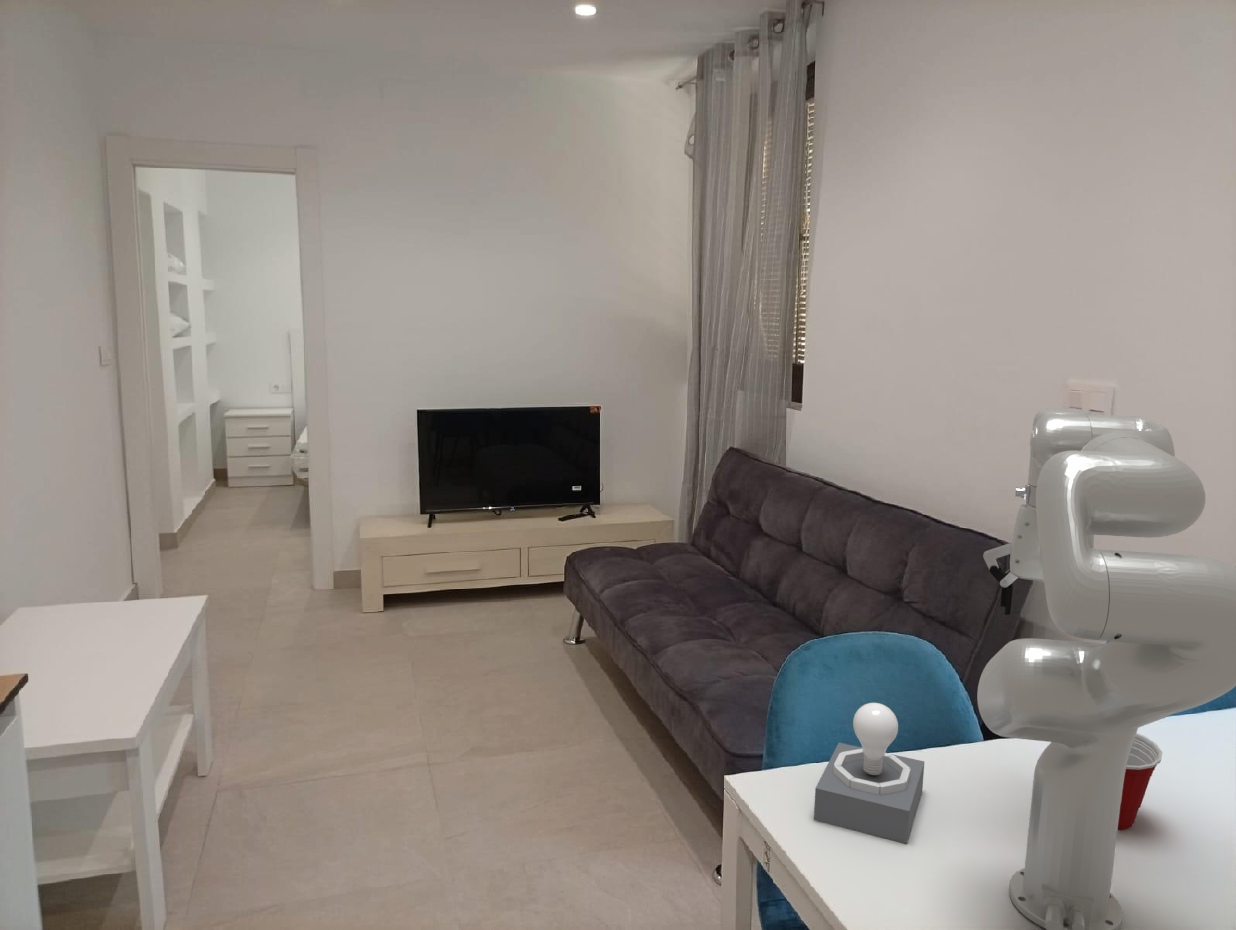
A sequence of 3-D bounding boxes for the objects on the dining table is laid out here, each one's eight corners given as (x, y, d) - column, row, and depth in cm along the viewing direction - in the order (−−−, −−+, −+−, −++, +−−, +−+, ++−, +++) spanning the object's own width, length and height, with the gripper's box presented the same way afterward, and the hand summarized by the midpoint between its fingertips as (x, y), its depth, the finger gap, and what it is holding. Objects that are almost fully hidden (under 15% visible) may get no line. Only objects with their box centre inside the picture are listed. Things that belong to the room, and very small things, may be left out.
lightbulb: (894, 766, 134) (899, 698, 132) (895, 788, 128) (900, 717, 126) (850, 760, 136) (854, 693, 134) (849, 781, 130) (853, 711, 128)
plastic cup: (1057, 819, 129) (1065, 742, 127) (1082, 790, 137) (1090, 718, 135) (1140, 851, 122) (1150, 770, 120) (1162, 819, 129) (1172, 743, 127)
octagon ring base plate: (906, 843, 123) (909, 803, 122) (813, 819, 129) (815, 780, 128) (924, 782, 139) (927, 745, 138) (841, 762, 145) (843, 727, 144)
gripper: (986, 497, 122) (976, 616, 125) (1130, 511, 115) (1116, 636, 118) (990, 487, 129) (981, 600, 132) (1127, 499, 121) (1113, 619, 125)
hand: (1045, 617), depth 125 cm, fingers open, 9 cm apart
